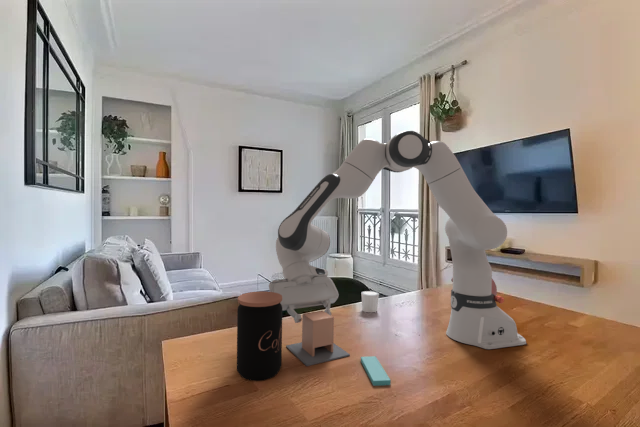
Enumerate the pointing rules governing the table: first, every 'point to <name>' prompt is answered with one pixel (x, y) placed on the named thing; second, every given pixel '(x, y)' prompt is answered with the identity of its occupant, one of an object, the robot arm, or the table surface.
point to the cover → (317, 331)
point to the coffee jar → (259, 335)
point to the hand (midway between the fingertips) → (313, 319)
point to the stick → (375, 371)
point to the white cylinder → (369, 301)
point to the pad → (317, 354)
